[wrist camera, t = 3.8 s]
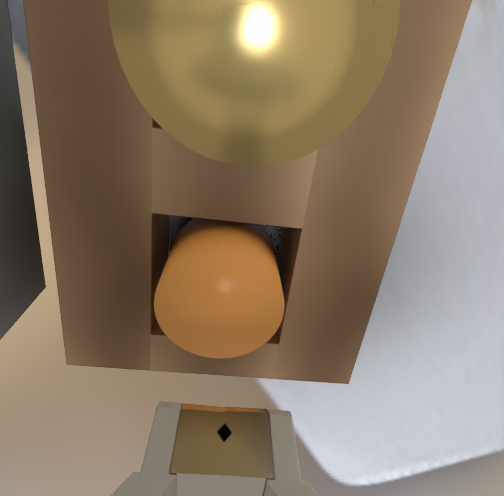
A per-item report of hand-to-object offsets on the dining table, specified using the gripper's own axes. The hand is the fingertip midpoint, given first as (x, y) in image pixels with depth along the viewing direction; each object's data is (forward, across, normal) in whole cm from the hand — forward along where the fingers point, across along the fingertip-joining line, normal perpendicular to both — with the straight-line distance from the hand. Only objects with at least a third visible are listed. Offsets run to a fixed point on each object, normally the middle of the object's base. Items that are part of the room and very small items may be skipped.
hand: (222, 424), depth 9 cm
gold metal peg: (+10, 0, -8) cm, 13 cm away
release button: (+8, 0, 0) cm, 8 cm away
